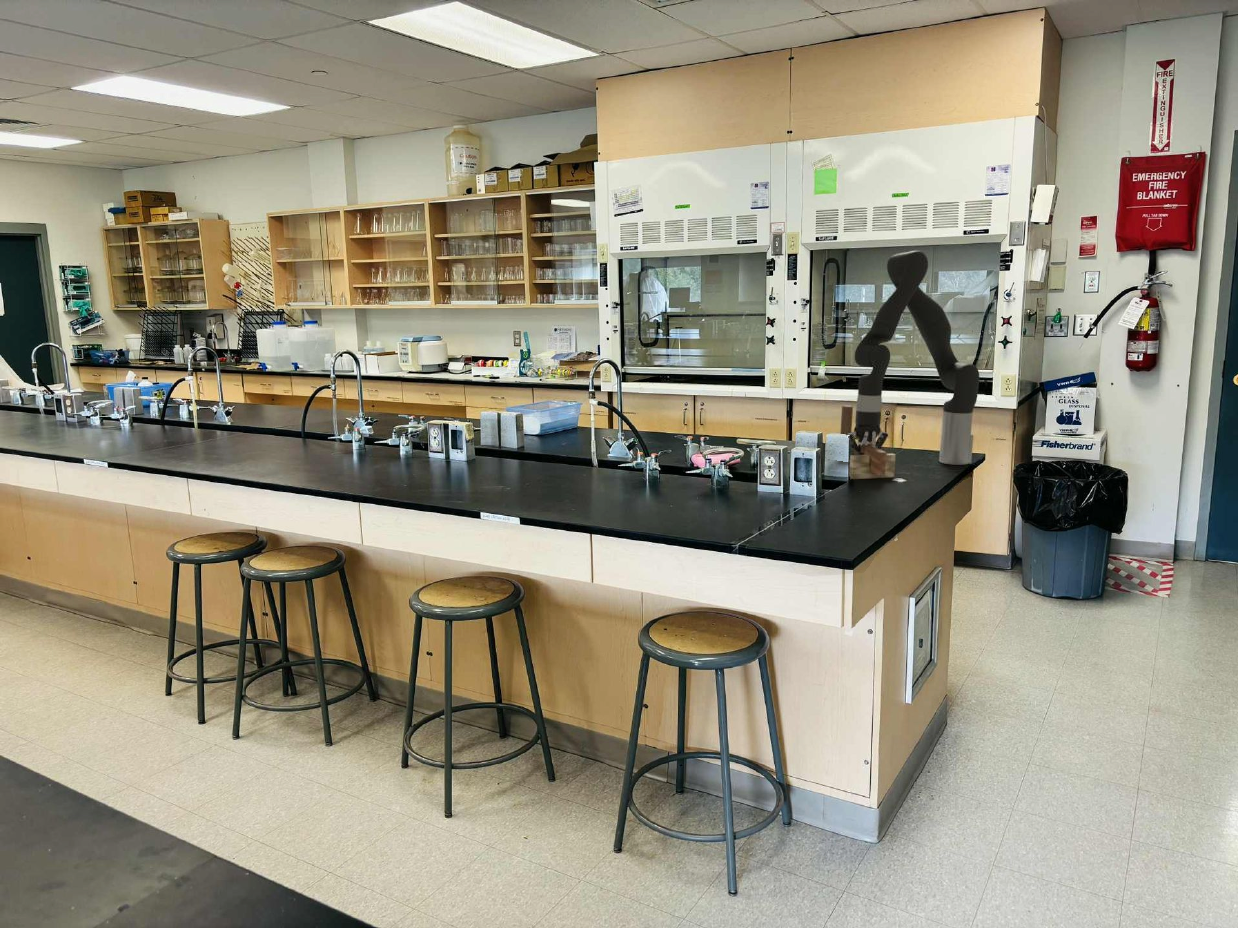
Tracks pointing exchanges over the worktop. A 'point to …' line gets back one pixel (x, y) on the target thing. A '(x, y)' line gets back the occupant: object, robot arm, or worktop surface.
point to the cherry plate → (876, 459)
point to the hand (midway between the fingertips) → (865, 463)
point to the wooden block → (847, 421)
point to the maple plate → (869, 467)
